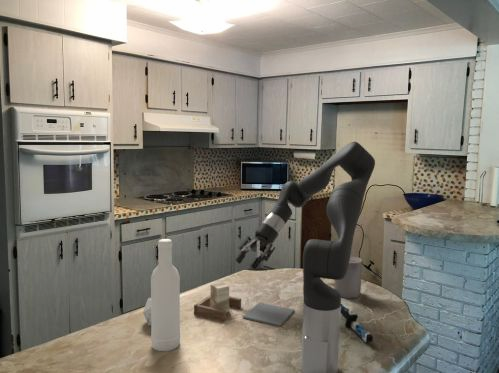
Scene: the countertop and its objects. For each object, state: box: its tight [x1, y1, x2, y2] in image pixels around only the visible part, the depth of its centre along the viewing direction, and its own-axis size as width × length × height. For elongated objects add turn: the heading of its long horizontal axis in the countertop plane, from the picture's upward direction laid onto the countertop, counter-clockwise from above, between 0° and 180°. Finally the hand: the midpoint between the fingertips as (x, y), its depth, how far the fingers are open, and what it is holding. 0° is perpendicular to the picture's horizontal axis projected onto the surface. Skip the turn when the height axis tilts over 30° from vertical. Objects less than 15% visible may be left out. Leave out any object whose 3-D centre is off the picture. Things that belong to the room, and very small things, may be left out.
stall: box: [193, 294, 242, 322], centre depth 140 cm, size 12×11×3 cm
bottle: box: [150, 238, 181, 352], centre depth 115 cm, size 8×8×30 cm
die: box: [142, 297, 151, 327], centre depth 130 cm, size 8×9×10 cm
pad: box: [242, 302, 295, 327], centre depth 138 cm, size 13×13×1 cm
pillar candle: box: [334, 255, 363, 299], centre depth 157 cm, size 10×10×15 cm
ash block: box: [209, 281, 230, 313], centre depth 140 cm, size 4×4×9 cm
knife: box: [340, 303, 374, 343], centre depth 132 cm, size 31×3×4 cm, turn 11°
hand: (244, 265), depth 145 cm, fingers open, 8 cm apart
